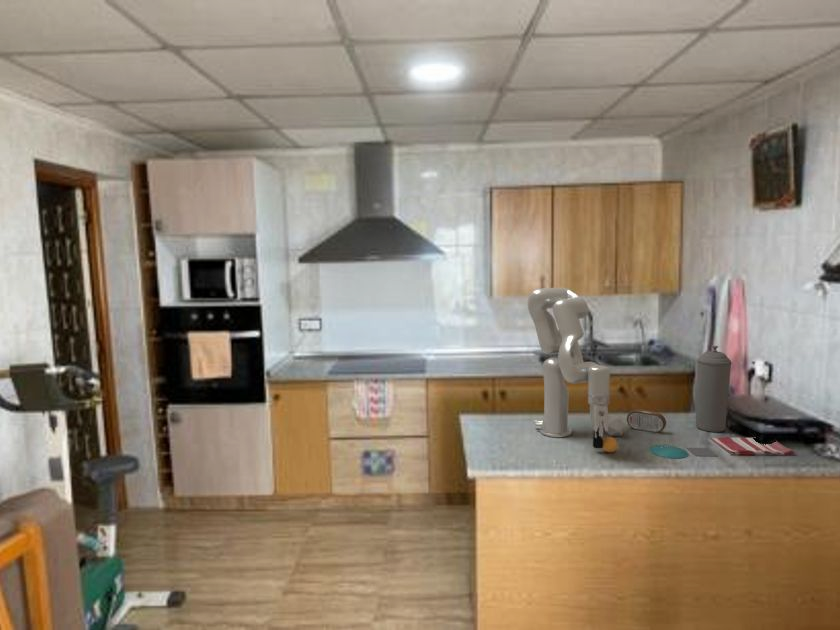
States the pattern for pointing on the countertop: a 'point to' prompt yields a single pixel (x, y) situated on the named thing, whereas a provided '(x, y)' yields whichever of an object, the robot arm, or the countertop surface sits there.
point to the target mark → (669, 451)
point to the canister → (712, 390)
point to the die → (616, 425)
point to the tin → (646, 421)
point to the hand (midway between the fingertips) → (597, 447)
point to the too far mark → (702, 452)
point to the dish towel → (749, 447)
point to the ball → (609, 444)
